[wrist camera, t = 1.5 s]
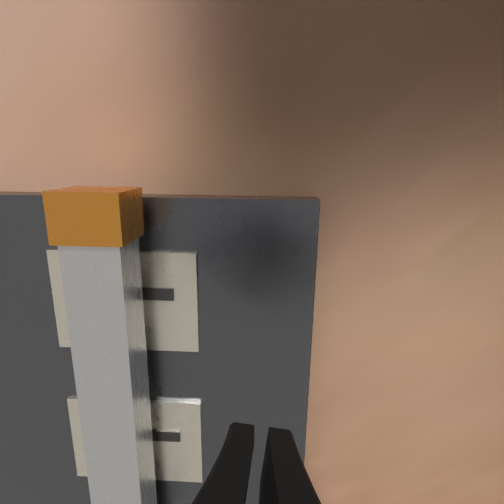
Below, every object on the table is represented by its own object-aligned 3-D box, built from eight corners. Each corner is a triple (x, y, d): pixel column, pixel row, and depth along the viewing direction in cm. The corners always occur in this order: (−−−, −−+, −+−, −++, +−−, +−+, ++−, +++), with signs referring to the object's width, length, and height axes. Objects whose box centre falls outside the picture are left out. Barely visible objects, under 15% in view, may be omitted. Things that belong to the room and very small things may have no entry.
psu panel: (14, 522, 23) (-3, 546, 22) (-53, 190, 18) (-82, 193, 16) (296, 538, 22) (298, 565, 21) (316, 197, 17) (321, 201, 15)
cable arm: (167, 546, 21) (144, 635, 17) (120, 544, 21) (87, 631, 17) (145, 186, 16) (104, 196, 12) (82, 185, 16) (21, 194, 12)
